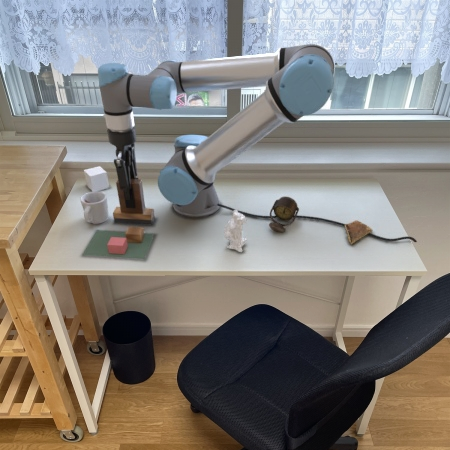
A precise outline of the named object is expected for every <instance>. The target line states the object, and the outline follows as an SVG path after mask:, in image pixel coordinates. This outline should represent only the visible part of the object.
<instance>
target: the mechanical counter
mask: <svg viewBox="0 0 450 450" xmlns="http://www.w3.org/2000/svg"><path fill="white" fill-rule="evenodd" d="M299 211H300V208H299V207H298V202H297V201H296V200H295V199H294V198H292V197H290V196H281V197H280V198H278V199H276V200H275V201H274V203H273V205H272V206H271V209H270V211H269V216H270V218H269V219H270V220H271V221H272V222H269V224H268V226H269V228H270V229H271V230H273V231H274V232H276V233H284V232H286V228H285V227H289V226H291V225H293V223H294V222H295V221H296V219H297V218H296V216H298V214H299ZM272 212H273V213H272ZM272 214H274V216H276V217H277V218H276V219H278V220H281V221H284V222H287V221H290V222H288V223H281V222H279V221H276V219H275V218H273V217H272V216H273V215H272ZM294 215H295V216H294ZM293 216H294V218H293ZM291 220H292V221H291Z"/></svg>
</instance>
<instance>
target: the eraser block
mask: <svg viewBox="0 0 450 450" xmlns="http://www.w3.org/2000/svg"><path fill="white" fill-rule="evenodd" d="M107 246H108V251H109V253H112V254H125V252H126V249H127V247H128V244H127V238H120V237H111V239H110V240H109V242H108V244H107Z"/></svg>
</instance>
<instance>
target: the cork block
mask: <svg viewBox="0 0 450 450" xmlns="http://www.w3.org/2000/svg"><path fill="white" fill-rule="evenodd" d="M125 232H126V233H125V236H126V238H127V242H129V243H142V241H143V238H144V236H145V235H144V233H145V229H144V227H141V226H140V227H139V226H128V227H127V229H126V231H125Z"/></svg>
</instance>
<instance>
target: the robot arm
mask: <svg viewBox="0 0 450 450" xmlns="http://www.w3.org/2000/svg"><path fill="white" fill-rule="evenodd" d="M97 76H98V77H97V79H98V88H99V91H100V96H101V101H102V106H103V107H102V108H103V116H102V117H103V119H105V124H106V128H107V131H106V132H107V137H108V138H107V139H108V142H109V144H111V145H112V146H114V147H115V157H116V158H114V159H113V164H114V167H115V170H116V175H117V180H118V181H119V186H120V190H123V191H124V197H125V204H126V208H135V200H134V194H133V188H131V179H139V177H138V169H137V168H138V167H137V160H136V152H135V151H136V149H135V148H136V147H135V146H136V144H135V143H136V142H137V133H136V127H135V117H134V110H133V108H144V109H155V110H160V111H161V110H172V109H173V108H174V107H175V105H176V102H177V98H178V97H177V95H178V94H181V93H196V92H208V91H209V92H210V91H221V90H222V91H223V90H236V89H249V88H250V89H252V88H265V90H264V91H263V92H262V93H261V94H260V95H258V96H257V97H256V98H255V99H253V100H252V101H251V102H249V104H248V105H246V106H245V107H244V108H242V109H241V110H240V111H239V112H238V113H236V114H235V115H234V116H232V117H231V118H230V119H229V120H228V121H227V122H225V123H224V124H223V125H221V126H220V127H219V128H218V129H217V130H215V131H214V132H213V133H212V134H210V135H209V136H206V135H201V134H184V135H183V134H182V135H180V136H177V137H176V138H175V139H174V144H173V147H174V153H173V155H172V156H171V157H170V159H169V160H168V161H167V163H166V164H165V165H164V167H163V168H162V169H161V170H160V172H159V175H158V177H157V186H158V187H157V188H158V190H159V192H160V194H161V196H162V197H164V199H165V200H166V201H168V202H170V203H171V204H172V205H173V210H174V211H175V212H176V213H177V214H179V215H181V216H182V217H183V216H184V217H187V218H203V217H209V216H212V215H213V214H215V213H217V211H219V210H220V209H219V208H220V207H221V208H223V209H227V210H229V211H232V212H233V210H237V211H238V213H241V214H243V215H244V216H248V217H253V218H258V219H259V218H260V219H271V218H270V215H261V214H255V213H249V212H247V211H246V212H245V211H243V210H239V209H235V208H233V207H231V206H227V205H225V204H222V203H220V198H219V194H218V192H217V191H216V187H215V184H214V181H215V180H216V173H218V172H219V171H220V170H221V169H223V168H224V167H226V166H227V165H229V164H230V163H231V162H233V161H234V160H235V159H236V158H238V157H239V156H241V155H242V154H243V153H246V151H248V150H249V149H250V148H251V147H253V146H254V145H255V144H257V143H258V142H260V141H261V140H262V139H263V138H265V137H266V136H267V135H269V134H270V133H272V132H273V131H274V130H276V129H277V128H278V127H280V126H281V125H282V124H284V123H289V124H294V123H296V122H297V121H298V120H300V119H301V118H303V117H305V116H309V115H313V114H315V113H317V112H318V111H320V110H321V109H322V108H323V107H324V106H325V105H326V104H327V103H328V101H329V99H330V98H331V95H332V93H333V89H334V86H335V62H334V58H333V56H332V55H331V53H330V52H329V51H328V50H327V49H326V48H325V47H324V46H322V45H319V44H315V43H314V44H312V43H308V44H300V45H295V46H289V47H279V48H278V49H277V51H276V52H275V53H273V52H272V53H263V54H262V53H261V54H253V55H252V54H251V55H242V56H241V55H239V56H230V57H220V58H219V57H218V58H208V59H198V60H186V61H177V60H175V59H167V60H165V61H162V62H160V63H159V64H158V66H157V67H155V68H153V70H151V72H149V73H148V74H146V75H145V74H131V73H129V70H128V66H127V65H126V64H124V63H120V62H108V63H104V64H101V65H100V66H99V67H98V69H97ZM294 216H295V215H294ZM294 216H293V218H294ZM272 217H273V219H278V218H277V217H276V216H275V215H272ZM293 218H292V219H293ZM295 219H309V220H316V221H321V222H326V223H330V224H335V225H338V226H341V227H345V224H346V223H343V222H339V221H335V220H331V219H329V218H328V219H327V218H322V217H316V216H309V215H297V216H296V218H295ZM367 235H368V236H370V237H372V238H374V239H375V238H376V239H378V240H381V241H386V242H397V241H402V240H411V241H413V242H414V243H418V241H417V239H416V238H414V237H412V236H400V237H395V238H387V237H383V236H379V235H376V234H374V233H372V232H371V233H368V234H367Z"/></svg>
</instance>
